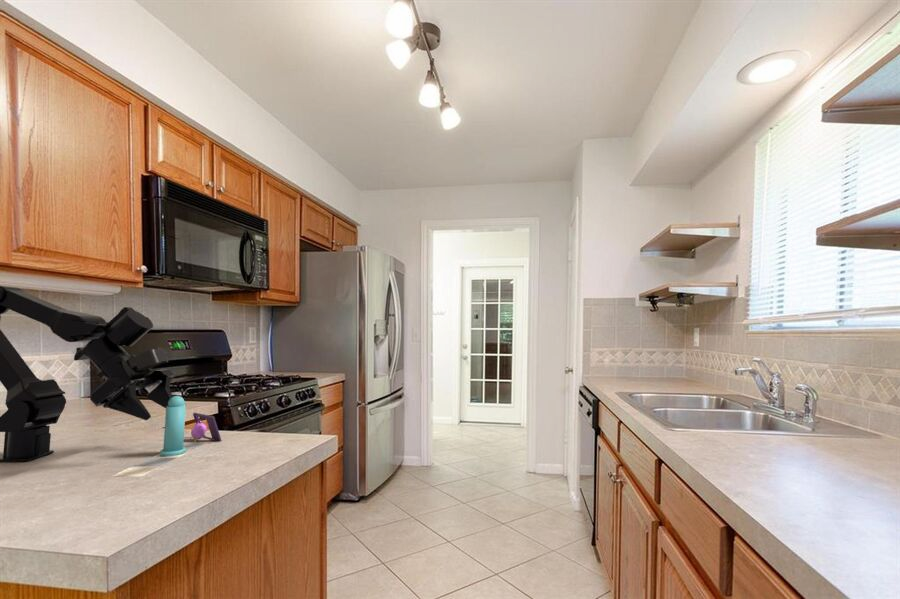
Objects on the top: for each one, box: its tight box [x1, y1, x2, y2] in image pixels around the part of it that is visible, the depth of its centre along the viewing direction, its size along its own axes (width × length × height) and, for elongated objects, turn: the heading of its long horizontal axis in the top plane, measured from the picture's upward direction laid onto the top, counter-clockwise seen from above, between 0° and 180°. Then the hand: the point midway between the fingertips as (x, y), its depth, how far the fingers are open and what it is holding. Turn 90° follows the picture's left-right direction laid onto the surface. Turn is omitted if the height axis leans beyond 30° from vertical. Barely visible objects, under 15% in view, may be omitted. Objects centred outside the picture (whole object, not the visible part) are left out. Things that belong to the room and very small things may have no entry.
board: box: [110, 441, 212, 478], centre depth 88 cm, size 8×26×1 cm, turn 3°
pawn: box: [159, 395, 187, 456], centre depth 92 cm, size 5×5×12 cm
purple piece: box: [190, 412, 223, 442], centre depth 105 cm, size 7×5×9 cm
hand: (162, 414), depth 91 cm, fingers open, 9 cm apart
